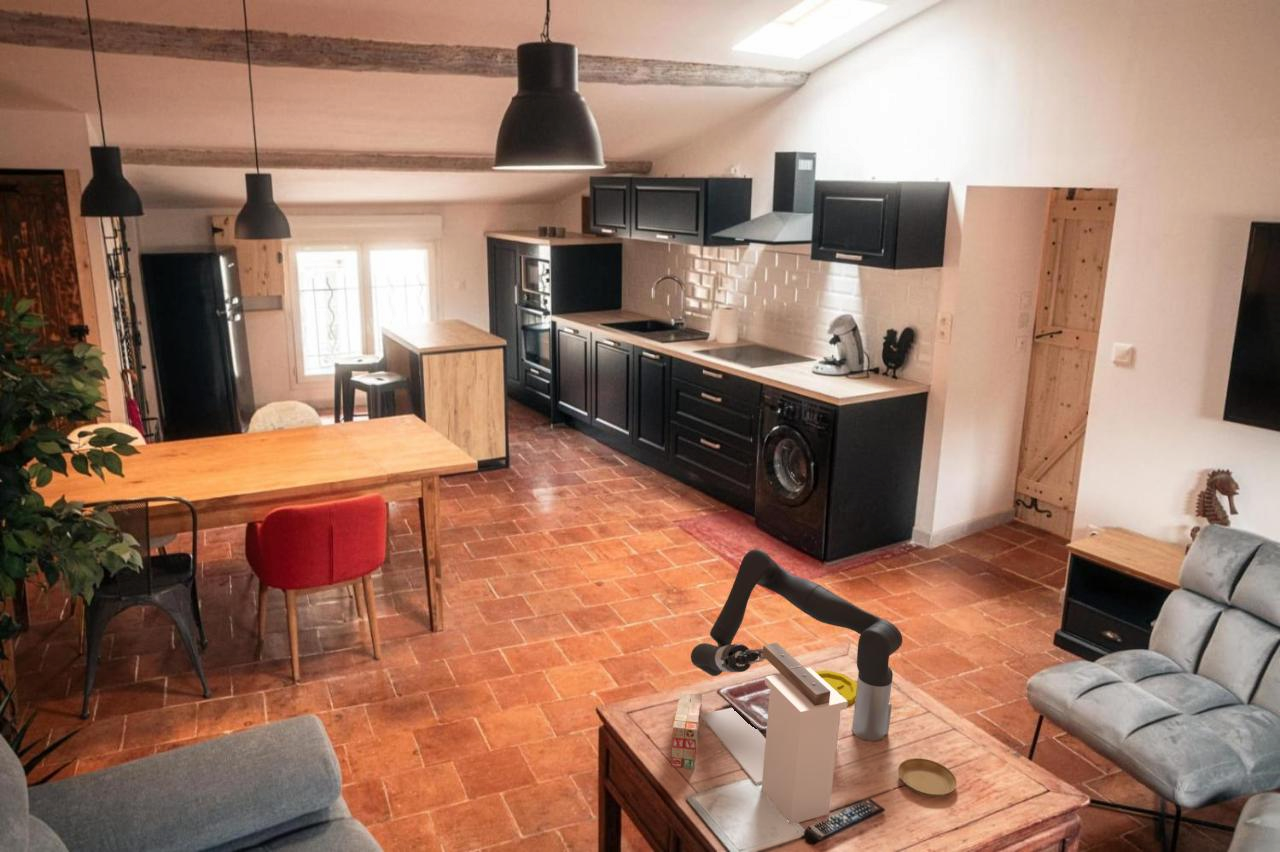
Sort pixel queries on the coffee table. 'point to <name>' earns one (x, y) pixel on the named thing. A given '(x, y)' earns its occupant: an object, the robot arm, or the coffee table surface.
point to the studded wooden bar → (796, 674)
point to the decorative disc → (840, 684)
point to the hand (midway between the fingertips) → (760, 656)
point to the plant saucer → (927, 777)
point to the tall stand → (800, 749)
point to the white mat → (739, 740)
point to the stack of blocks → (686, 731)
